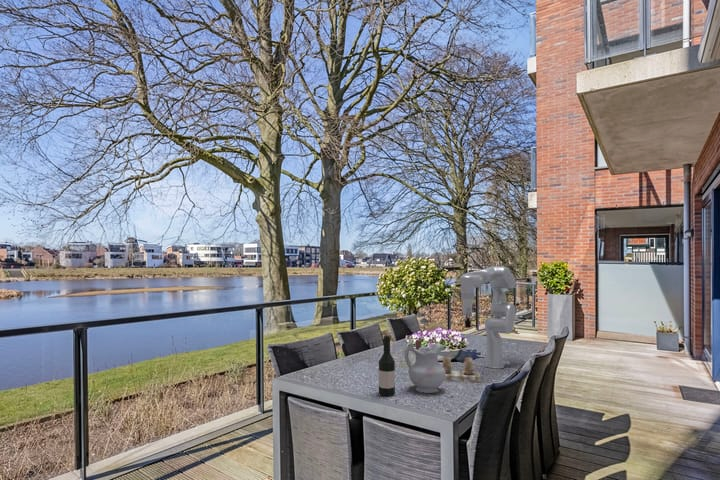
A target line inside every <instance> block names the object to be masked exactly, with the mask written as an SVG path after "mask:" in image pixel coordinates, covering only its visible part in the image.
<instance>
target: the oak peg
mask: <svg viewBox="0 0 720 480" xmlns="http://www.w3.org/2000/svg"><path fill="white" fill-rule="evenodd" d="M473 358H474V357H473ZM473 358H472V357H468V356H467V357H464V371H465V375H473V372H474V370H473V369H474V368H473V366H474V362H473Z"/></svg>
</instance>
